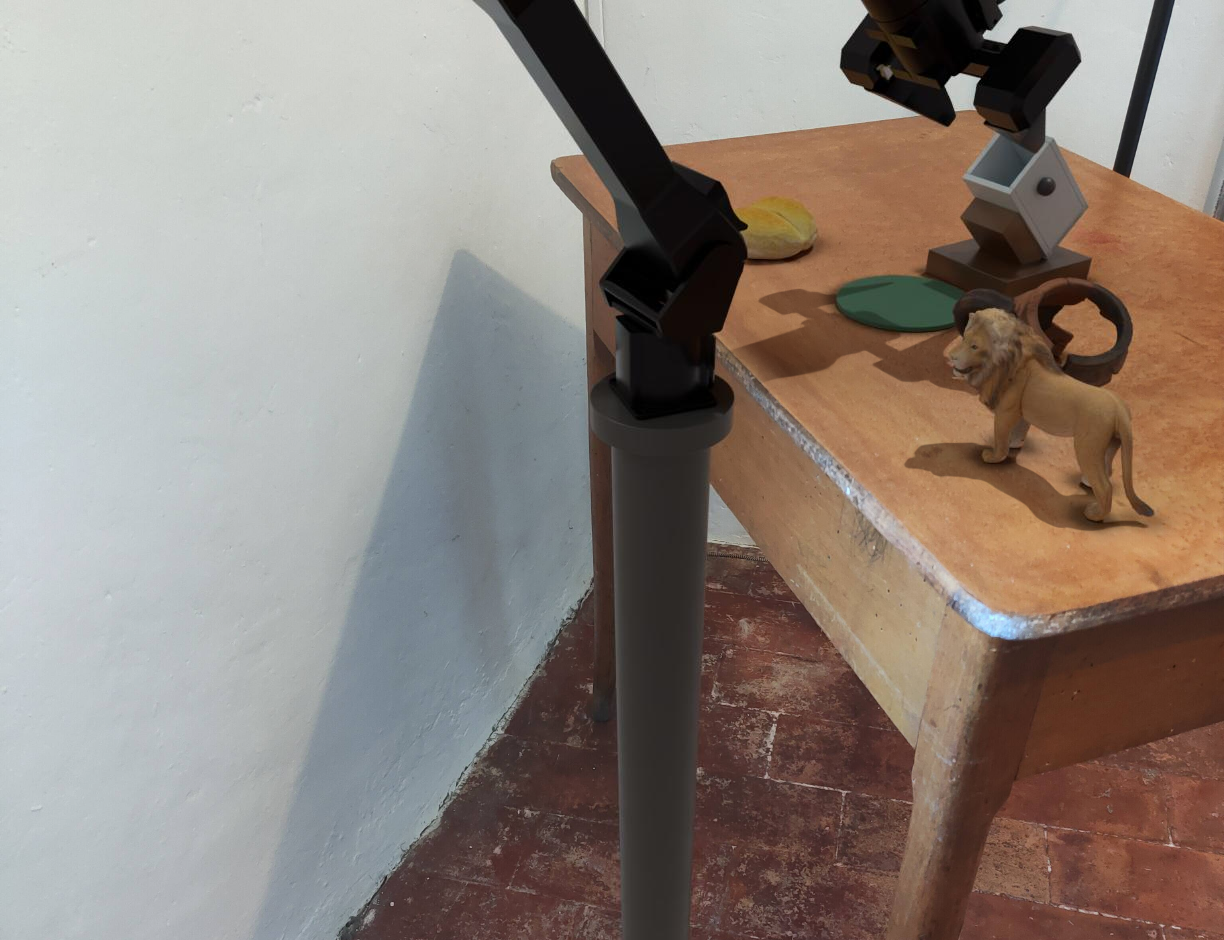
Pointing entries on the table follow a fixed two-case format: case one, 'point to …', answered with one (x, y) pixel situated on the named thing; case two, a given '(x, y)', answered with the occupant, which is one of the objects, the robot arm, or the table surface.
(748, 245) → the bread roll
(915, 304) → the coaster
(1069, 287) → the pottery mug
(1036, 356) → the lion figurine
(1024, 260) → the tilted cube pedestal
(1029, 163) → the grey storage bin
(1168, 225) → the table surface
